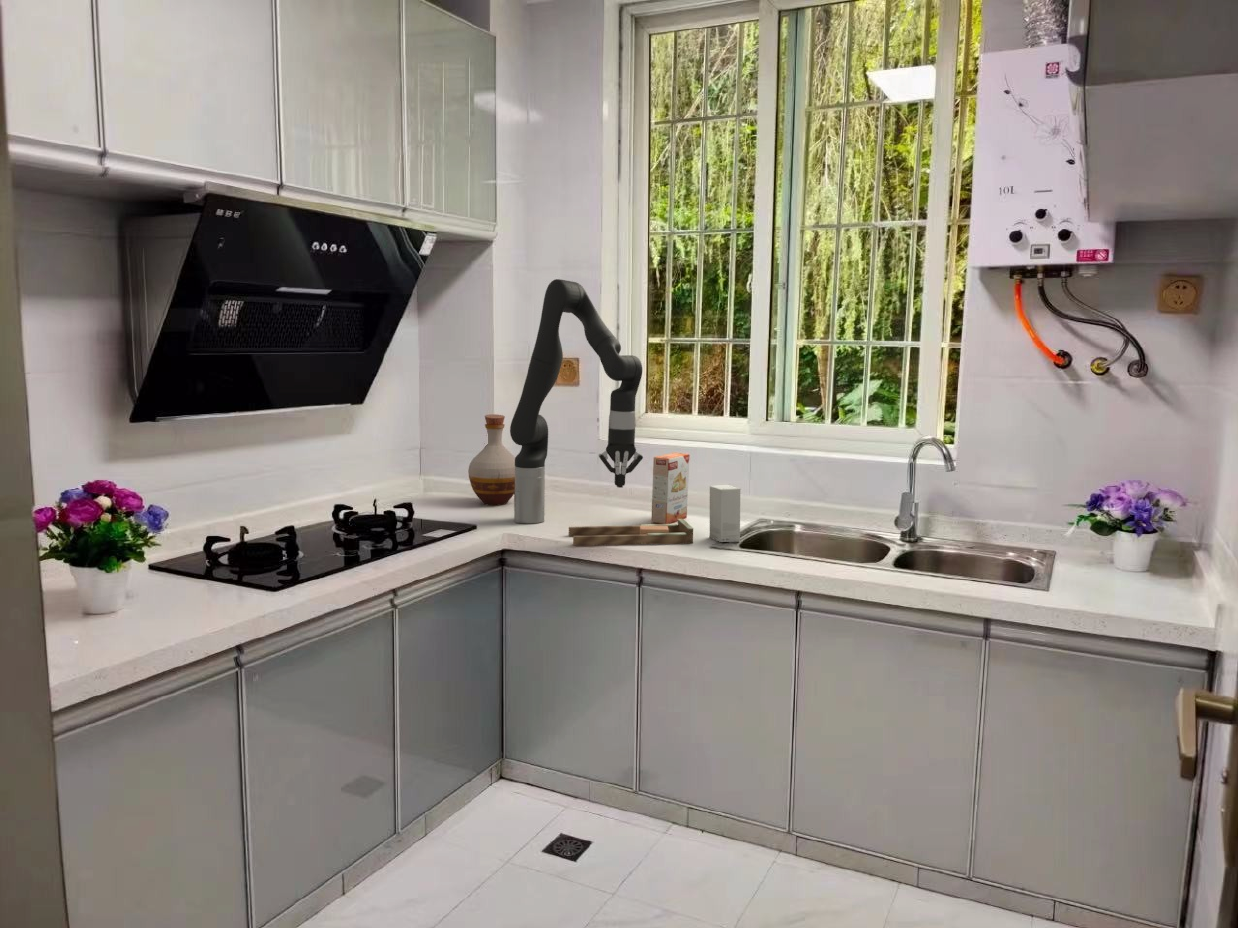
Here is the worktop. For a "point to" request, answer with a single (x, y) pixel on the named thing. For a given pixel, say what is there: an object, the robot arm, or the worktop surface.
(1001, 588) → the worktop surface
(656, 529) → the terracotta block
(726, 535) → the skincare box
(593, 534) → the track
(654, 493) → the cracker box
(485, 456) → the jug
